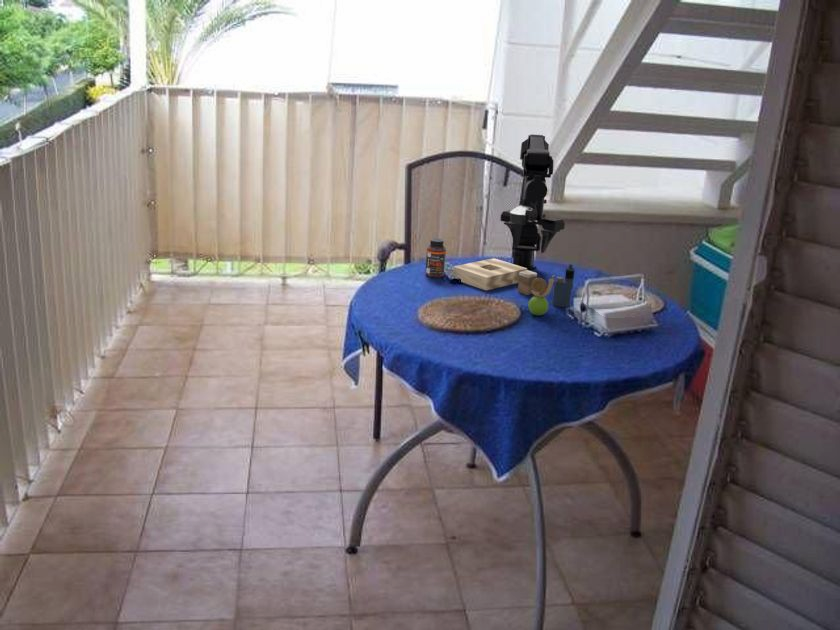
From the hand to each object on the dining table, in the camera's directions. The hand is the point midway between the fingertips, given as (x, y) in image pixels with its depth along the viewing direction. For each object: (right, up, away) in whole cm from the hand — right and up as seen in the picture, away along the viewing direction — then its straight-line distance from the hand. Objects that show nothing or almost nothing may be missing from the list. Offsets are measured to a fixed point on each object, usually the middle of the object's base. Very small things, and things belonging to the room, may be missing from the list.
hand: (529, 249), depth 239 cm
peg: (0, -12, +5) cm, 13 cm away
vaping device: (+8, -16, -5) cm, 19 cm away
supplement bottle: (-27, -7, +18) cm, 33 cm away
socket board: (-10, -8, +16) cm, 21 cm away
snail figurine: (+1, -19, -14) cm, 24 cm away
